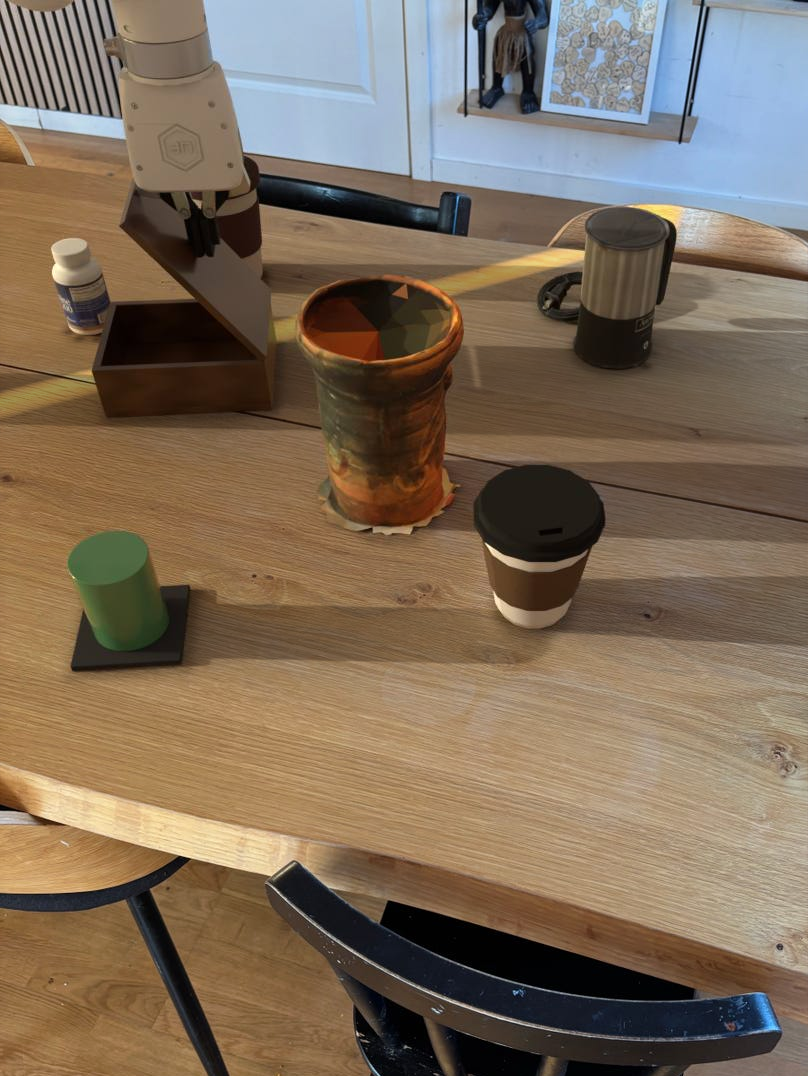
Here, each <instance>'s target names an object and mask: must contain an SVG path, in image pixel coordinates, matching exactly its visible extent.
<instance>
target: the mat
mask: <svg viewBox="0 0 808 1076" xmlns="http://www.w3.org/2000/svg"><path fill="white" fill-rule="evenodd" d="M160 587H161V590H162V593H163V596H164V600H165V603H166V606H167V609H168V613H169V624H168V627H167V629H166V631H165V632H164V634H163V635H162V636H161V637H160V638H159V639H158V640H156V641H155V642H153V643H152V644H150V645H148V646H146V647H144V648H141V649H137V650H133V651H115V650H111V649H108V648H106V647H104V646H103V645H101V644H100V643H99V642H98V641H97V640H96V638H95V636H94V633H93V631H92V628H91V626H90V623H89V621H88V618H87V616H86V613H85V611H84V608H83V607H82V612H81V617H80V621H79V627H78V631H77V634H76V640H75V645H74V649H73V652H72V653H73V654H72V657H71V662H70V670H71V671H72V672H80V671H82V672H83V671H96V670H112V669H113V670H114V669H115V670H116V669H128V668H129V669H130V668H145V667H161V666H162V667H163V666H176V665H182V661H183V654H184V652H183V651H184V645H185V637H186V629H187V622H188V613H189V606H190V599H191V598H190V597H191V585H190V584H176V585H160Z"/></svg>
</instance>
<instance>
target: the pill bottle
mask: <svg viewBox="0 0 808 1076" xmlns="http://www.w3.org/2000/svg"><path fill="white" fill-rule="evenodd" d="M50 249H51V250H50V251H51V254H52V257H53V260H54V263H55V264H53V267H52V268H51V269H52V270H51V274H52V279H53V282H54V284H55V288H56V291H57V294H58V297H59V300H60V303H61V307H62V310H63V312H64V315H65V318H66V322H67V323H68V327H69V329H70V330H71V331H72V332H74V333H75V334H77V335H81V336H93V335H94V336H95V335H99V334H102V330H103V327H104V323H105V319H106V316H107V312H108V308H109V305H110V302H112V301H111V298H110V294H109V291H108V288H107V284H106V280H105V277H104V274H103V270H102V266H101V264H100V263H99V261H98V260H97V259H95V258H94V257H92V252H91V249H90V245H89V243H88V242H87V241H86V240H85V239H82V238H79V237H68V238H63V239H61V240H58V241H56V242H55V243H53V244H52V245H51V248H50Z"/></svg>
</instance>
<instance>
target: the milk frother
mask: <svg viewBox="0 0 808 1076" xmlns="http://www.w3.org/2000/svg"><path fill="white" fill-rule="evenodd" d="M583 226H584V227H583V228H584V231H585V233H586V235H585V245H584V253H583V256H584V258H583V265H582V267H583V268H582V271H571V272H567V273H564V274H560V275H557V276H555V277H553V278H551V279H549V280H548V281H547V282H545V284H543V286H542V287H541V288H540V289H539V291H538V293H537V298H536V305H537V308H538V310H539V312H541V314H542V315H544V316H545V317H547V318H548V319H551V320H554V321H556V322H561V323H569V322H577V325H576V334H575V335H574V338H573V341H572V343H573V344H572V345H573V346H572V347H573V350H574V352H575V354H577V356H578V357H579V358H581V359H582V360H584V361H585V362H586V363H588V364H591V365H594V366H596V367H600V368H603V369H604V368H606V369H619V370H620V369H628V368H633V367H636V366H638V365H640V364H642V363H643V362H645V361H647V359H648V358H649V357H650V356H651V354H652V350H653V345H652V335H653V328H654V317H655V311H656V306H660V305H662V303H663V301H664V298H665V296H666V291H667V287H668V283H669V282H668V281H669V277H670V272H671V269H672V268H671V267H672V263H673V258H674V253H675V248H676V244H677V237H678V232H677V228H676V225H675V224H674V222H672V221H671V220H670V219H667V218H665V217H663V216H661V215H660V214H656V213H655V212H652V211H650V210H648V209H647V210H646V209H643V208H637V207H634V206H632V207H630V206H617V207H616V206H615V207H607V208H603V209H600V210H597V211H595V212H593V213H592V214H590V215H588V217H587V218H586V220H584V225H583ZM575 285H578V286H580V285H581V286H580V287H581V289H580V299H579V308H575V309H573V310H560V309H561V305H562V303H563V301H564V300H565V298H566V297H567V296H568V291H569V290H570V289H571V288H572V286H575Z"/></svg>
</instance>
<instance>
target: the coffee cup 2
mask: <svg viewBox="0 0 808 1076" xmlns="http://www.w3.org/2000/svg"><path fill="white" fill-rule="evenodd" d="M472 506H473V507H472V510H473V515H472V516H473V527H474V529H475V530H476V532H477V534H478V535H479V536H480V538H481V543H482V549H483V554H484V560H485V565H486V570H487V575H488V582H489V586H490V588H491V589H492V592H493V597H494V603H495V605H496V607H497V609H498V610H499V612H500V613H501V616H503V618H504V619H505V620H507V621H508V622H510V623H511V624H513V625H514V626H517V627H520V628H524V629H526V630H527V629H528V630H529V629H530V630H531V629H533V630H534V629H535V630H539V629H543V628H546V627H550V626H553V625H554V624H555V623H557V622H558V621H559V620H561V619H562V618H563V617H564V616H565V615H566V614H567V611H568V610H569V607H570V605H571V603H572V599H573V598H574V596H575V594H576V592H577V591H578V588H579V586H580V583H581V580H582V578H583V574H584V572H585V569H586V566H587V563H588V561H589V557H590V554H591V551H592V549H593V546H594V545H596V544H597V543H598V542H599V540H600V538H601V536H602V533H603V531H604V529H605V527H606V523H607V519H606V511H605V504H604V501H603V500H602V499H601V497H600V495H599V493H598V492H597V490H596V489H595V488H594V486H593V485H592V484H591V483H590V481H589V480H588V479H585V478H584V477H582V476H580V475H578V474H577V473H575V472H573V471H572V470H570V469H568V468H567V469H566V468H562V467H559V466H556V465H551V464H523V465H519V466H515V467H512V468H507V469H504V470H502V471H501V472H499V473H498V474H496V475H495V476H493V477H491V478H489V479H488V480H487V481H486V483H485V485H483V487H482V488H481V489H480V491H479V493H478V495H476V498H475V499H474V501H473V505H472Z"/></svg>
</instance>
